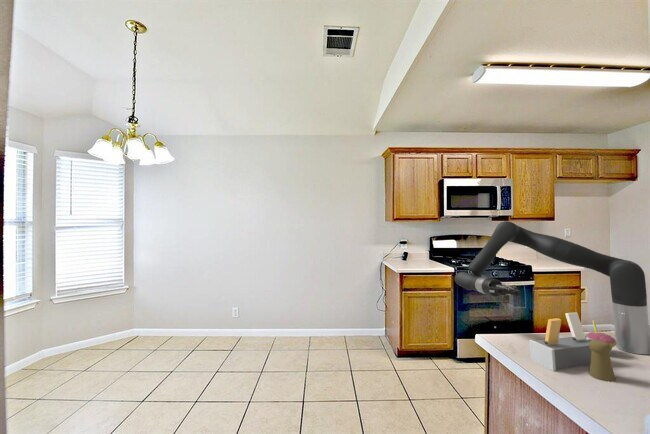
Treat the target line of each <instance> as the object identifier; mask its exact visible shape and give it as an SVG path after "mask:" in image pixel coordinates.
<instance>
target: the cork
mask: <svg viewBox="0 0 650 434" xmlns="http://www.w3.org/2000/svg"><path fill="white" fill-rule="evenodd" d="M589 348H590V349H591V363H590V365H589V376H590V377H592V378H594V379H596V380H599V381H602V382H608V381H609V383H610V382H611V381H613V382H615V381H616V377H615V376H616V375H615V372H614V367H613V364H612V361H611V357H610V355H609V353H610V352H612V350H611V347H610V345H609V344H608V343H606V342H604V341H600V340H591V341H590V342H589ZM610 354H611V353H610ZM611 383H612V382H611Z"/></svg>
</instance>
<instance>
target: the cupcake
mask: <svg viewBox="0 0 650 434" xmlns="http://www.w3.org/2000/svg"><path fill="white" fill-rule="evenodd" d="M592 326H593V330H594V331H592V332H588V333H587V334H585V336H586V337H587V338H590V339H593V340H600V341H604V342H606V343H608V344H609V345H610V347H611V352H612V350H613V348H615V347H616V345H617V343H616V338H615V337H612V336H611V335H610V334H607V333H603V332H598V329H597V326H596V321H595V320H594V318H592ZM611 352H610V353H609V356H610V355H611Z"/></svg>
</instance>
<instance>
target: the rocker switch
mask: <svg viewBox="0 0 650 434" xmlns="http://www.w3.org/2000/svg"><path fill="white" fill-rule="evenodd" d="M564 314H565V318H566V320H567V324H568V328H569V329H570V334H571V337H572V338H573V340H583V339H586V334H585V331H584V328H583V325H582V322H581V319H580V317H579V313H578V312H577V311H576V312H567V313H564Z"/></svg>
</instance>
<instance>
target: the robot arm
mask: <svg viewBox="0 0 650 434" xmlns="http://www.w3.org/2000/svg"><path fill="white" fill-rule="evenodd" d="M507 243H512V244H513V243H514V244H516V245H517V244H518V245H521V246H524V247H527V248H530V249H532V250H533V251H535V252H537V253H539V254H541V255H544V256H546V257H547V258H550V259H553V260H555V261H558V262H562V263H564V264H568V265H572V266H576V267H582V268H585V269H589V270H593V271H595V272H598V273H600V274H603V275H605V276H606V277H609V282H610V283H609V284H610V296H611V303H612V312H613V313H612V315H613V324H614V335H615V337H614V339H615V340H616V343H617V345H616V346H615V347H616V348H617V349H619V350H621V351H624V352H626V353H627V352H628V353H631V354H638V355H650V322H649V313H648V312H649V311H648V302H647V300H648V296H647V285H646V283H647V282H646V275H645V272H644V270H643V268H642V267H641V266H640V265H639V263H636V262H634V261H632V260H627V259H622V258H618V257H614V256H611V255H607V254H605V253H604V254H603V253H600V252H598V251H595V250H592V249H590V248H588V247H585V246H582V245H580V244H578V243H574V242H572V241H569V240H566V239H564V238H560V237H556V236H553V235H548V234H542V233H537V232H535V231H532V230H529V229H526V228H523V227H522V226H520V225H517V224H515V223H514V222H512V221H506V220H505V221H501V222H499V223H498V224H497V226H495V229H494V231H493V232H492V234H491V236H490V238H489V239H488V241H487V243H486V244H485V245H484V246H483V247H482V249H481V250H480V251H479V252H478V254H477V255H476V256H475V258H473V260H472V261H471V262H470V263H469V264H468V266H467V268H468V270H469V271H470V272H471V273H469V272H465V271H460V272H457V273H456V274H455V275H454V282H455V284H456V285H458V286H460V287H462V289H465V290H467V291H472V290H473V291H475V292H479V293H481V294H483V295H487V296H491V297H494V298H495V297H500V296H515V297H521V296H522V290H520V289H517V286H516V285H514V284H513V285H511V286H510V285H506V284H505V283H503V282H502V281H500V280H499V279H496V278H490V277H486V276H485V277H484V276H483V277H482V275H483V273H484V272H485V271H486V270H487V269H488V268H489V267H490V265H491V264H492V262H493V261H494V259H495V257H497V254H499V252H500V250H502V248H503V247H504V246H505V245H506V244H507Z"/></svg>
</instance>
